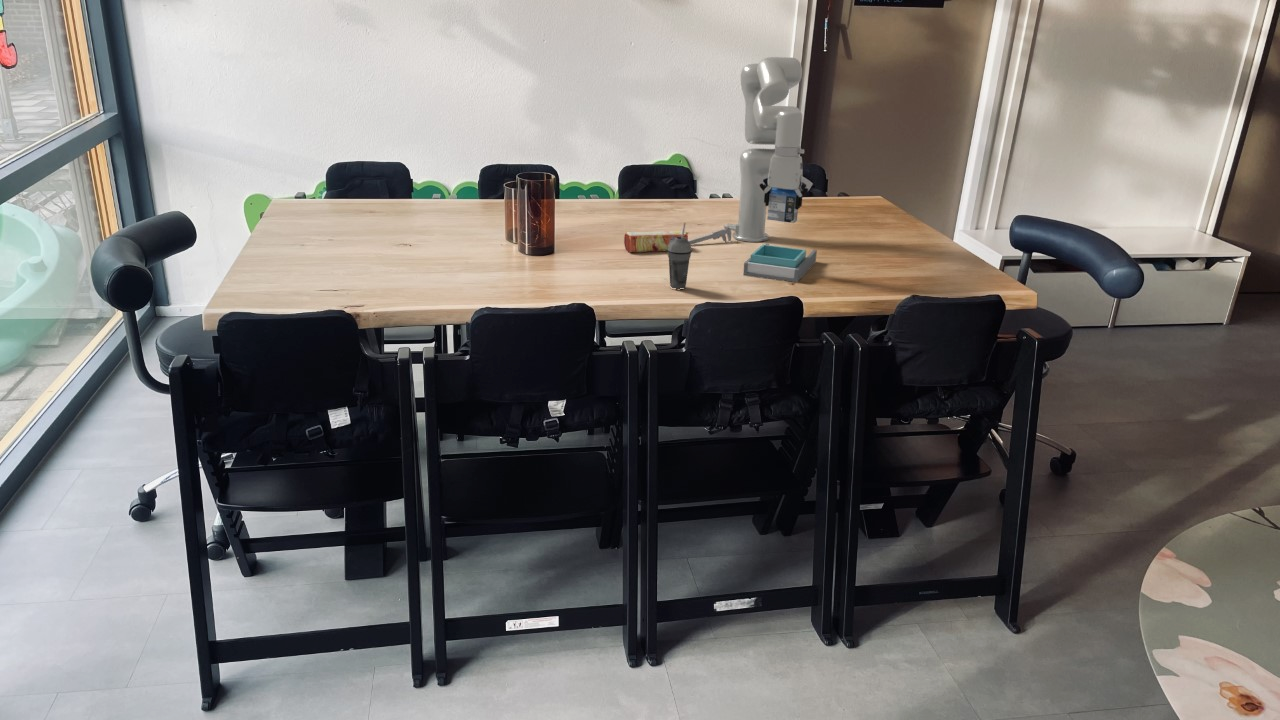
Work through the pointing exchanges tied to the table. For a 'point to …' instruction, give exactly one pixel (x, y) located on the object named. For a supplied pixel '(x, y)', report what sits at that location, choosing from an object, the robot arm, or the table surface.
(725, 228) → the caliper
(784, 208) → the label tape box
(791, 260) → the teal square tray
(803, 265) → the bay
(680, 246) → the beverage cup
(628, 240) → the snack package
